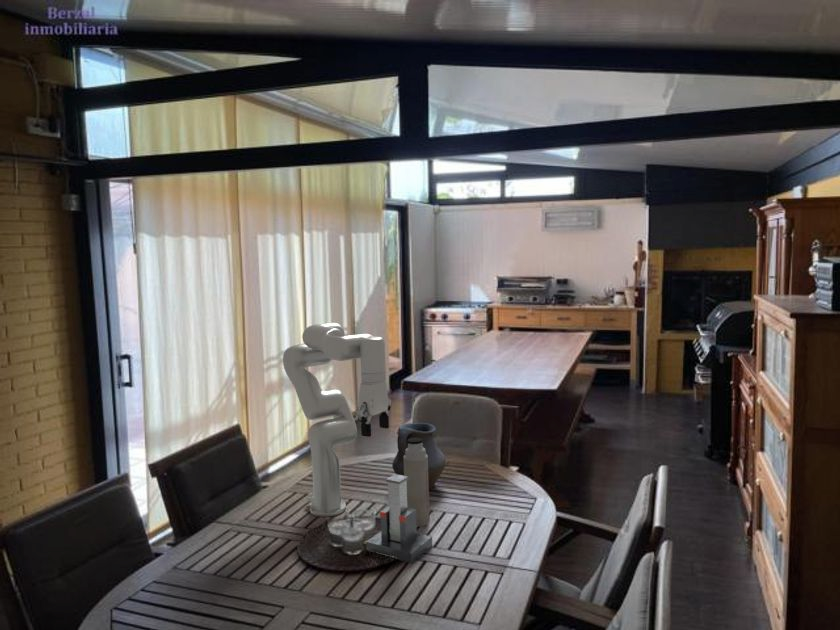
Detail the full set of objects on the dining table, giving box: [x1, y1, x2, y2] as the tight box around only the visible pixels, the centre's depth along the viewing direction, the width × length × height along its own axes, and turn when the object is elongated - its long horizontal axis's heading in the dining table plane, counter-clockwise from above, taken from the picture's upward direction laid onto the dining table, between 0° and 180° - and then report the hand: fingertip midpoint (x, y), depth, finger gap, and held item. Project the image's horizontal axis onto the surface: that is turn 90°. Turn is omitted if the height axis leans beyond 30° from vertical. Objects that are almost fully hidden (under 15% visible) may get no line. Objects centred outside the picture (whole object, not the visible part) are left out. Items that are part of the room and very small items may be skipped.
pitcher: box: [391, 422, 447, 490], centre depth 237 cm, size 21×22×25 cm
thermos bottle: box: [404, 438, 431, 528], centre depth 207 cm, size 8×8×28 cm
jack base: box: [365, 505, 433, 564], centre depth 189 cm, size 16×12×12 cm
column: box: [385, 473, 408, 542], centre depth 189 cm, size 5×5×19 cm
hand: (375, 431), depth 194 cm, fingers open, 9 cm apart
